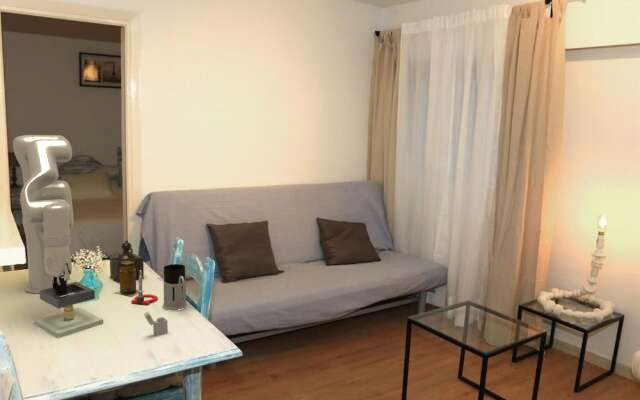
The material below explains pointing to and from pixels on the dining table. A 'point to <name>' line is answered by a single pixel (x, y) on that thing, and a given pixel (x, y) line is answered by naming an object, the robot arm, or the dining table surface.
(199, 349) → the dining table surface
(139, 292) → the tow hook
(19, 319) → the dining table surface
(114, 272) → the manual coffee grinder
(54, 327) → the plate
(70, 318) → the post
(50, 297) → the square metal frame
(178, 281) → the glass holder
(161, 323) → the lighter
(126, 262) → the condiment
